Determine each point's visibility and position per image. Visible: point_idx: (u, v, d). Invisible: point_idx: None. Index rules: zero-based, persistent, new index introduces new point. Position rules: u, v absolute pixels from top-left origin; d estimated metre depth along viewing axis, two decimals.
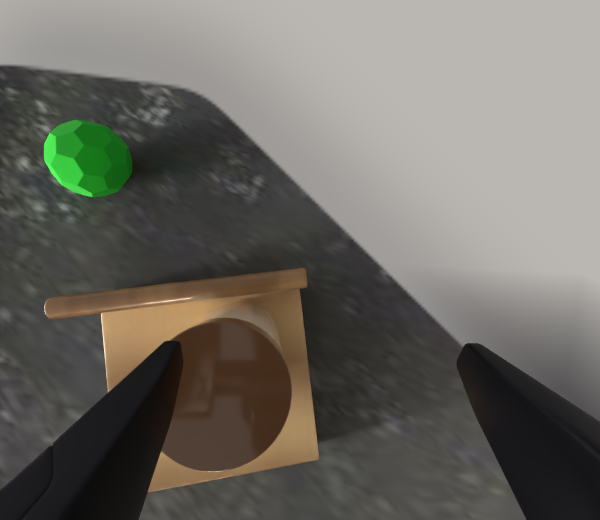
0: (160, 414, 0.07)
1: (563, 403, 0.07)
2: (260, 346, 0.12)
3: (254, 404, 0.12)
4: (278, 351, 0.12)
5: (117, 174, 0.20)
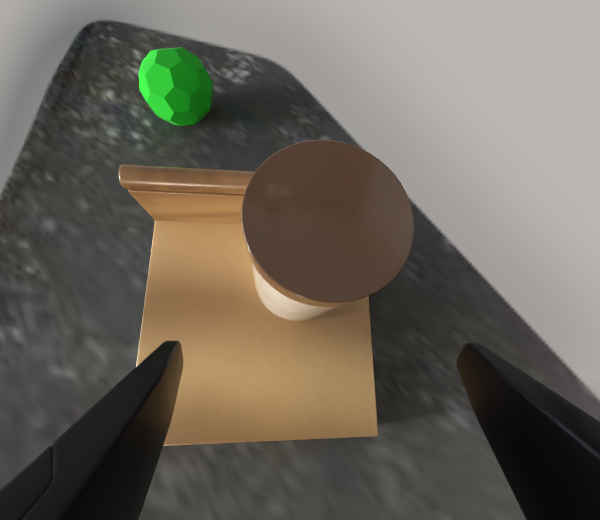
0: (160, 414, 0.07)
1: (563, 403, 0.07)
2: (380, 172, 0.10)
3: (371, 231, 0.10)
4: (399, 182, 0.10)
5: (200, 99, 0.21)
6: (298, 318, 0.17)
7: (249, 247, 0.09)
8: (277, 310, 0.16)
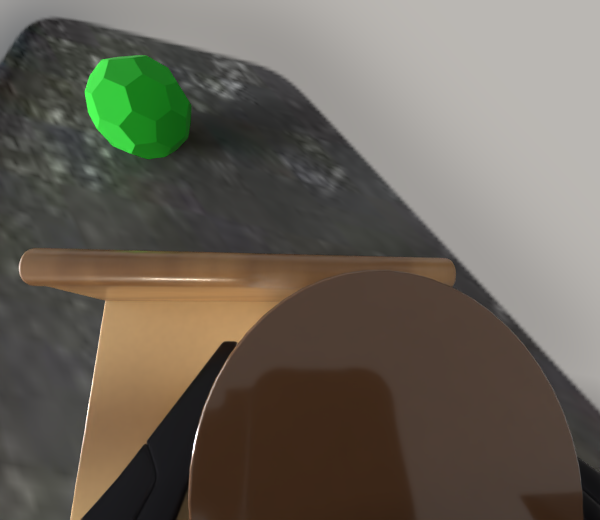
0: None
1: None
2: (496, 343, 0.05)
3: (492, 505, 0.04)
4: (535, 363, 0.05)
5: (172, 126, 0.15)
6: None
7: None
8: None
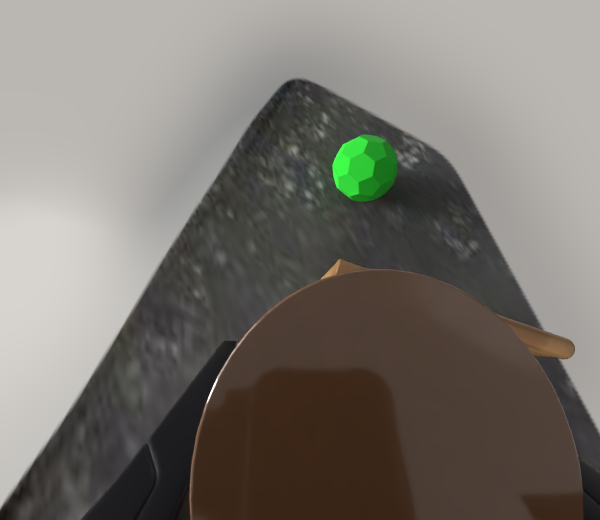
0: None
1: None
2: (497, 341, 0.05)
3: (493, 503, 0.04)
4: (535, 361, 0.05)
5: (384, 188, 0.23)
6: None
7: None
8: None
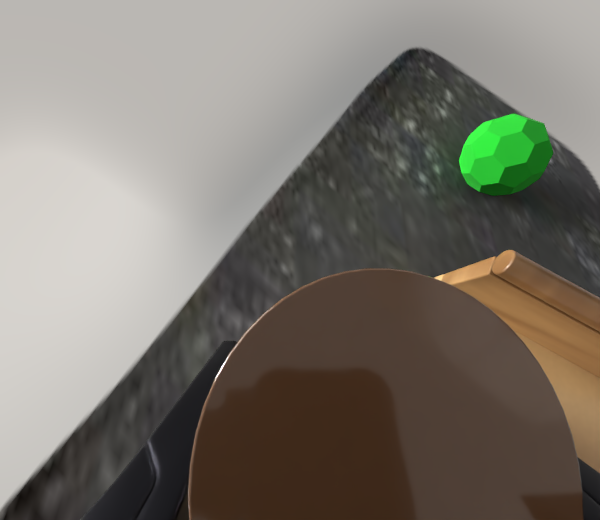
0: None
1: None
2: (496, 340, 0.05)
3: (492, 503, 0.04)
4: (535, 361, 0.05)
5: (529, 181, 0.18)
6: None
7: None
8: None
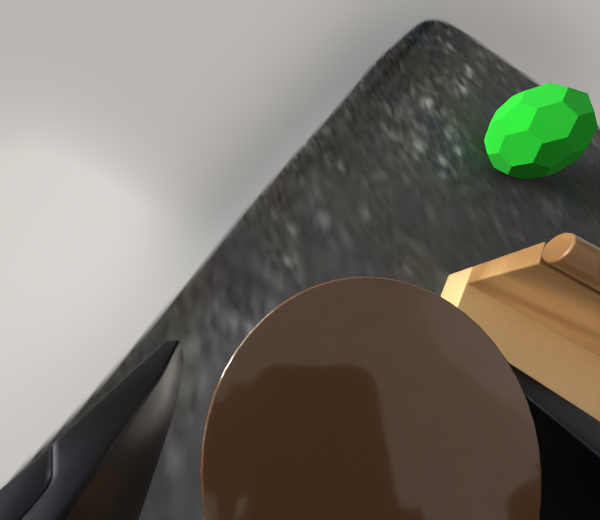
0: (160, 414, 0.07)
1: (563, 403, 0.07)
2: (469, 341, 0.06)
3: (462, 480, 0.05)
4: (503, 358, 0.06)
5: (568, 161, 0.16)
6: None
7: None
8: None
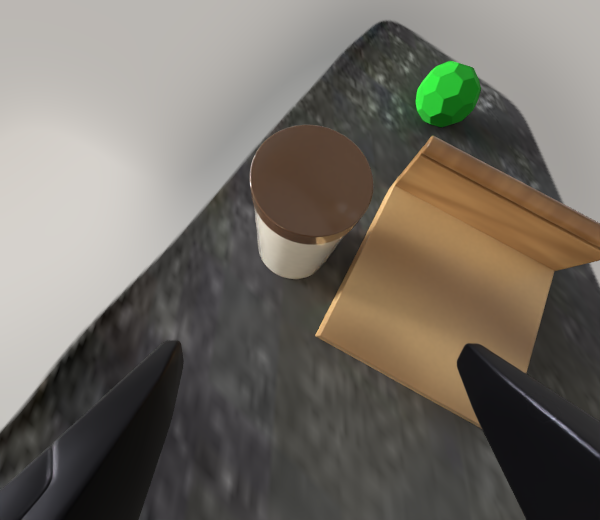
0: (160, 414, 0.07)
1: (563, 403, 0.07)
2: (349, 148, 0.14)
3: (342, 189, 0.14)
4: (363, 155, 0.14)
5: (464, 111, 0.25)
6: (294, 273, 0.21)
7: (256, 199, 0.13)
8: (276, 265, 0.20)
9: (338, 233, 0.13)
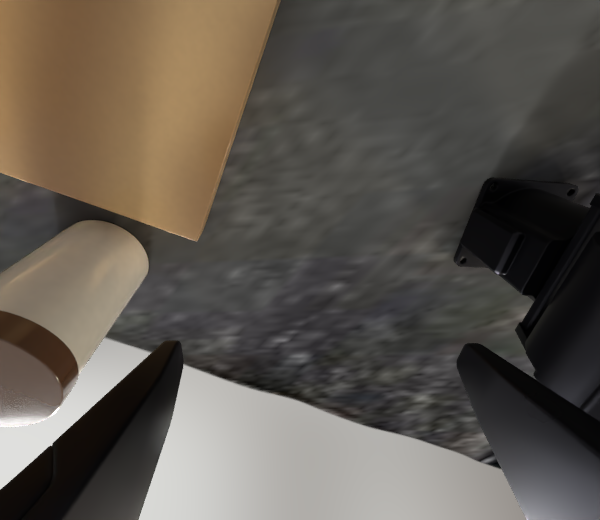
0: (160, 414, 0.07)
1: (563, 403, 0.07)
2: None
3: None
4: None
5: None
6: (135, 272, 0.19)
7: (44, 419, 0.13)
8: (132, 294, 0.19)
9: (37, 354, 0.11)
